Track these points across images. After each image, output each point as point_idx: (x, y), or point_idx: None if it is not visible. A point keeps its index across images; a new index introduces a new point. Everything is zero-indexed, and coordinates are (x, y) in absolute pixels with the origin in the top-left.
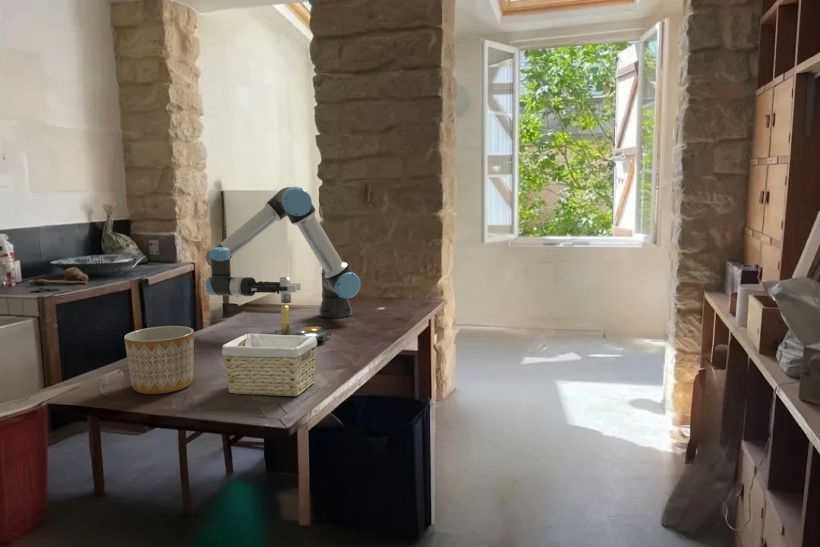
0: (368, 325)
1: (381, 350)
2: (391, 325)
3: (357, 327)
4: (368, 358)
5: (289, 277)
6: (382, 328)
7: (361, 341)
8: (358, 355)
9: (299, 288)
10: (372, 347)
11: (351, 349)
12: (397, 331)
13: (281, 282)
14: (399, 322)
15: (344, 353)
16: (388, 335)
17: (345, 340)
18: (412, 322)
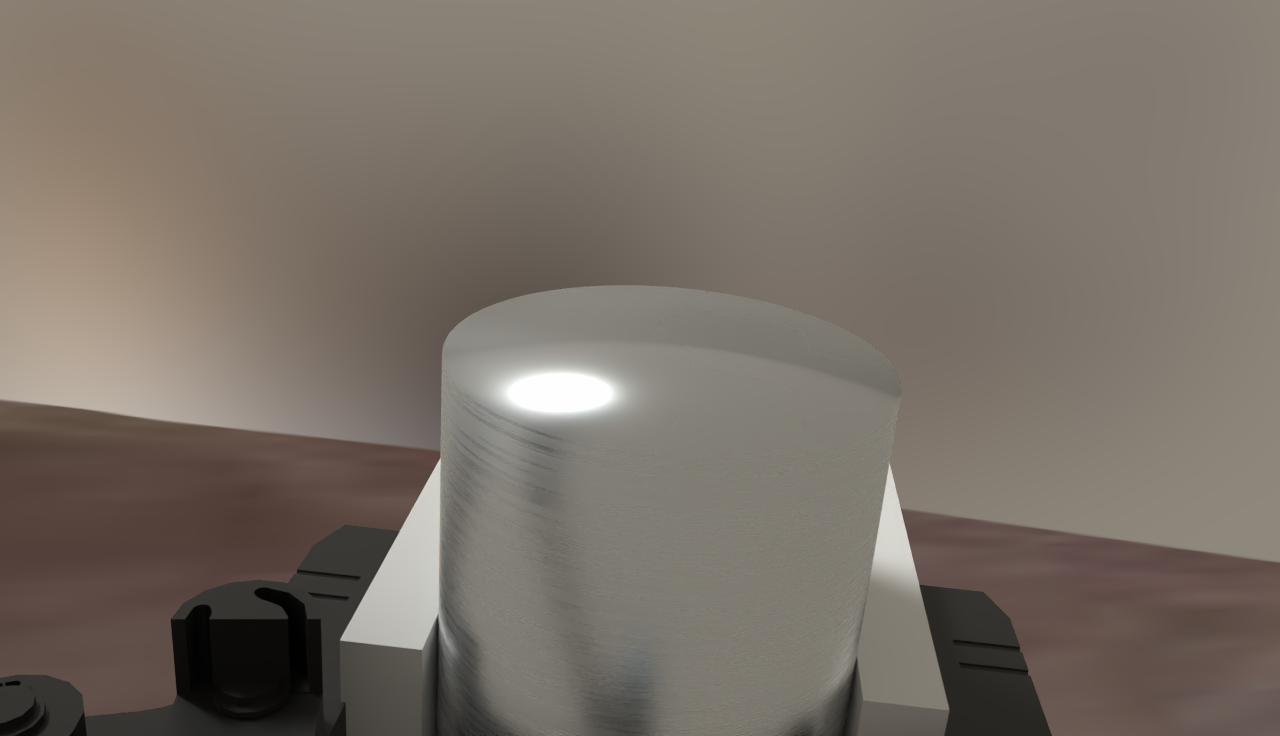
0: (38, 626)
1: (994, 527)
2: (123, 502)
3: (105, 697)
4: (1237, 569)
5: (656, 288)
6: (234, 542)
7: None
8: (1203, 616)
9: None
10: (933, 566)
11: (1058, 664)
12: (381, 475)
13: (865, 586)
14: (14, 468)
15: (1210, 692)
16: None
17: None
18: (60, 418)
